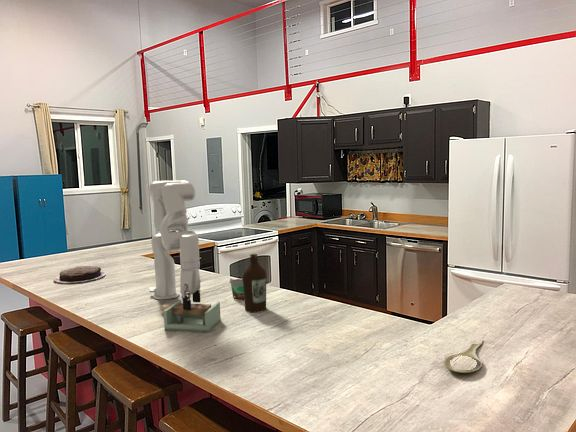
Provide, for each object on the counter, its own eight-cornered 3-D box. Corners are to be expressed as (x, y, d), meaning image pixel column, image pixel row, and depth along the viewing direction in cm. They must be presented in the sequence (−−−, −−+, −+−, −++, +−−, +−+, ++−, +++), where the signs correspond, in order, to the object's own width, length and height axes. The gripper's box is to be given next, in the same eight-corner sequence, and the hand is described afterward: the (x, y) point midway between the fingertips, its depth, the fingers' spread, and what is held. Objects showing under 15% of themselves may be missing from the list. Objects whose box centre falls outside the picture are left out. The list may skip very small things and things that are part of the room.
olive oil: (239, 308, 212) (237, 254, 209) (260, 304, 217) (258, 251, 214) (251, 314, 203) (248, 257, 200) (272, 310, 209) (270, 254, 206)
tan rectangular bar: (162, 315, 206) (161, 306, 205) (164, 313, 208) (164, 304, 208) (183, 315, 204) (182, 306, 203) (185, 313, 206) (185, 305, 206)
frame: (164, 330, 187) (163, 311, 186) (179, 318, 200) (178, 300, 199) (208, 332, 183) (207, 312, 182) (220, 320, 197) (219, 301, 196)
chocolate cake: (42, 283, 268) (41, 272, 267) (76, 272, 294) (76, 261, 294) (84, 285, 260) (83, 274, 259) (115, 274, 287) (114, 263, 286)
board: (173, 313, 189) (172, 307, 189) (179, 309, 195) (179, 303, 195) (206, 315, 187) (205, 309, 186) (211, 310, 193) (211, 304, 192)
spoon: (465, 341, 173) (465, 335, 173) (496, 347, 167) (496, 341, 167) (437, 372, 144) (438, 365, 143) (474, 380, 138) (474, 373, 138)
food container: (231, 302, 222) (231, 281, 221) (230, 298, 228) (229, 278, 227) (257, 299, 225) (256, 278, 224) (255, 295, 231) (254, 275, 230)
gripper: (189, 259, 198) (191, 299, 200) (172, 269, 181) (174, 312, 183) (206, 260, 196) (208, 299, 199) (190, 270, 180) (192, 313, 182)
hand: (192, 305), depth 191 cm, fingers open, 9 cm apart
